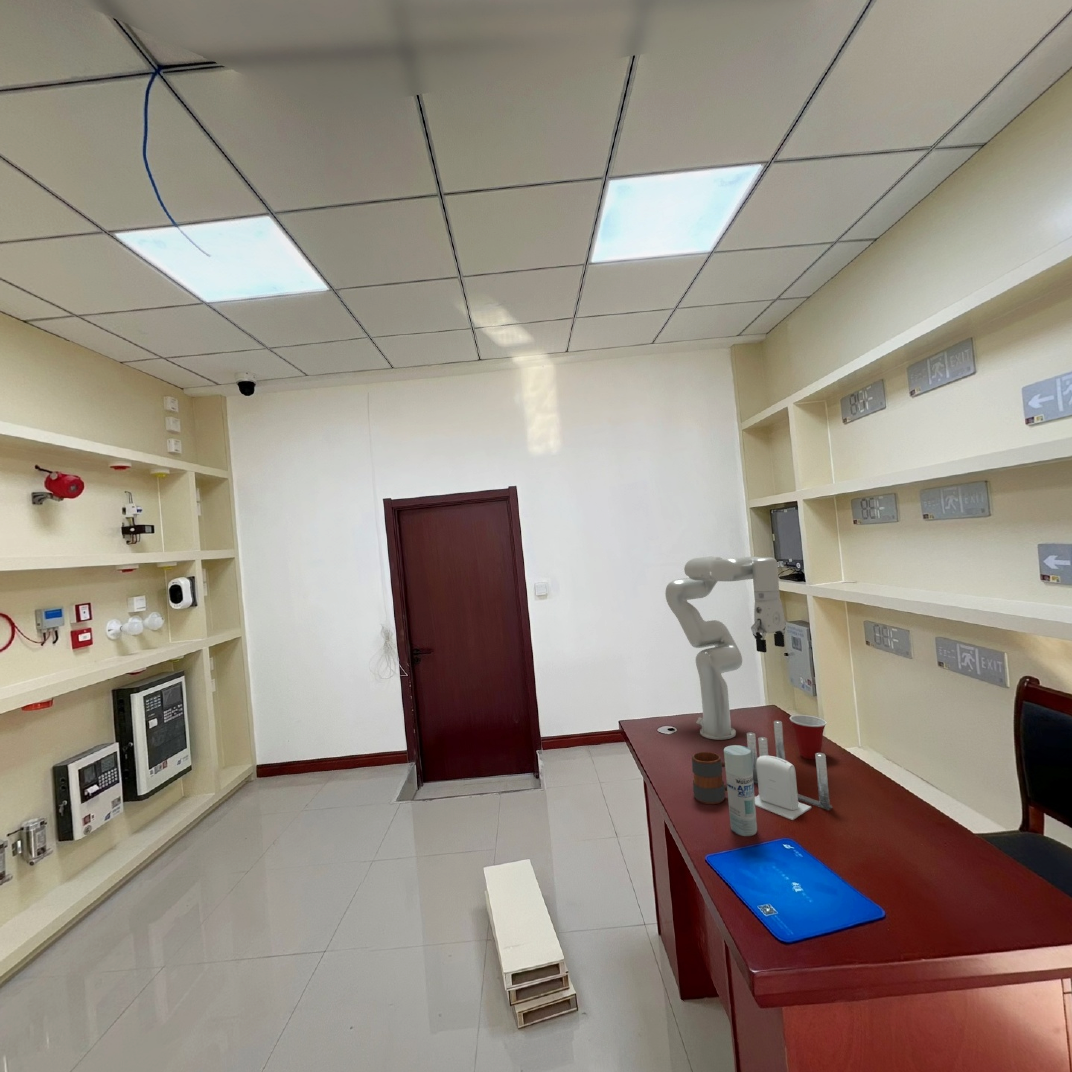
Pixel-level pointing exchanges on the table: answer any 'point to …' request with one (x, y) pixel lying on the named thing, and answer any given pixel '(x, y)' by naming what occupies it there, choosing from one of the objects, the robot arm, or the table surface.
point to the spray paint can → (740, 790)
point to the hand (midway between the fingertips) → (770, 649)
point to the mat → (782, 808)
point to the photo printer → (777, 782)
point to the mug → (708, 778)
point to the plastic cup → (808, 734)
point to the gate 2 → (821, 777)
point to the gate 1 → (778, 741)
